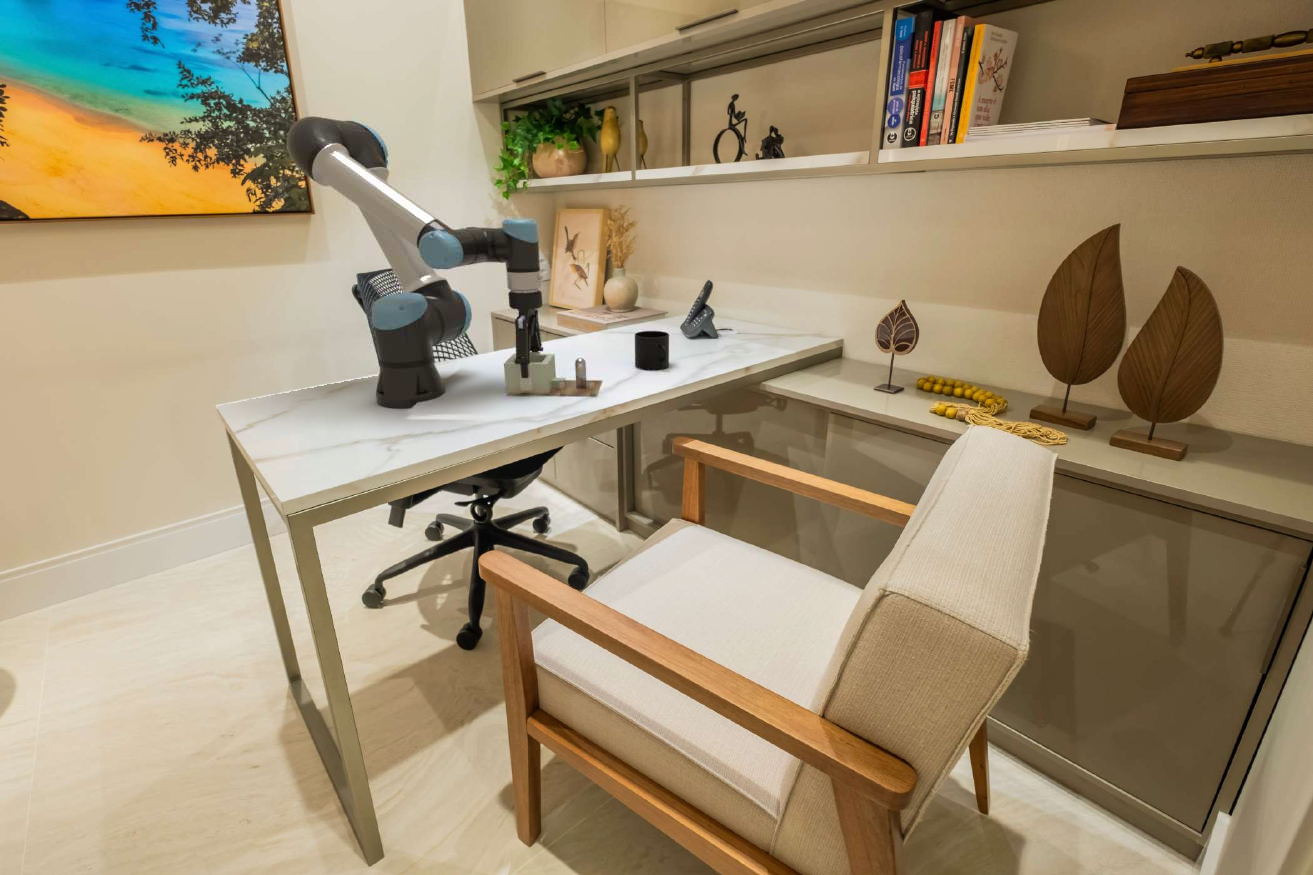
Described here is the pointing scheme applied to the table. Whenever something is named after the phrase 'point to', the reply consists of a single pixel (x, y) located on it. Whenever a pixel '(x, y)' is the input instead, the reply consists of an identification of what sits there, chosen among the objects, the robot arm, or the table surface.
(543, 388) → the sage green storage bin
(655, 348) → the mug
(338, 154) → the robot arm
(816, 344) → the table surface
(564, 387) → the board
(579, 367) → the post
